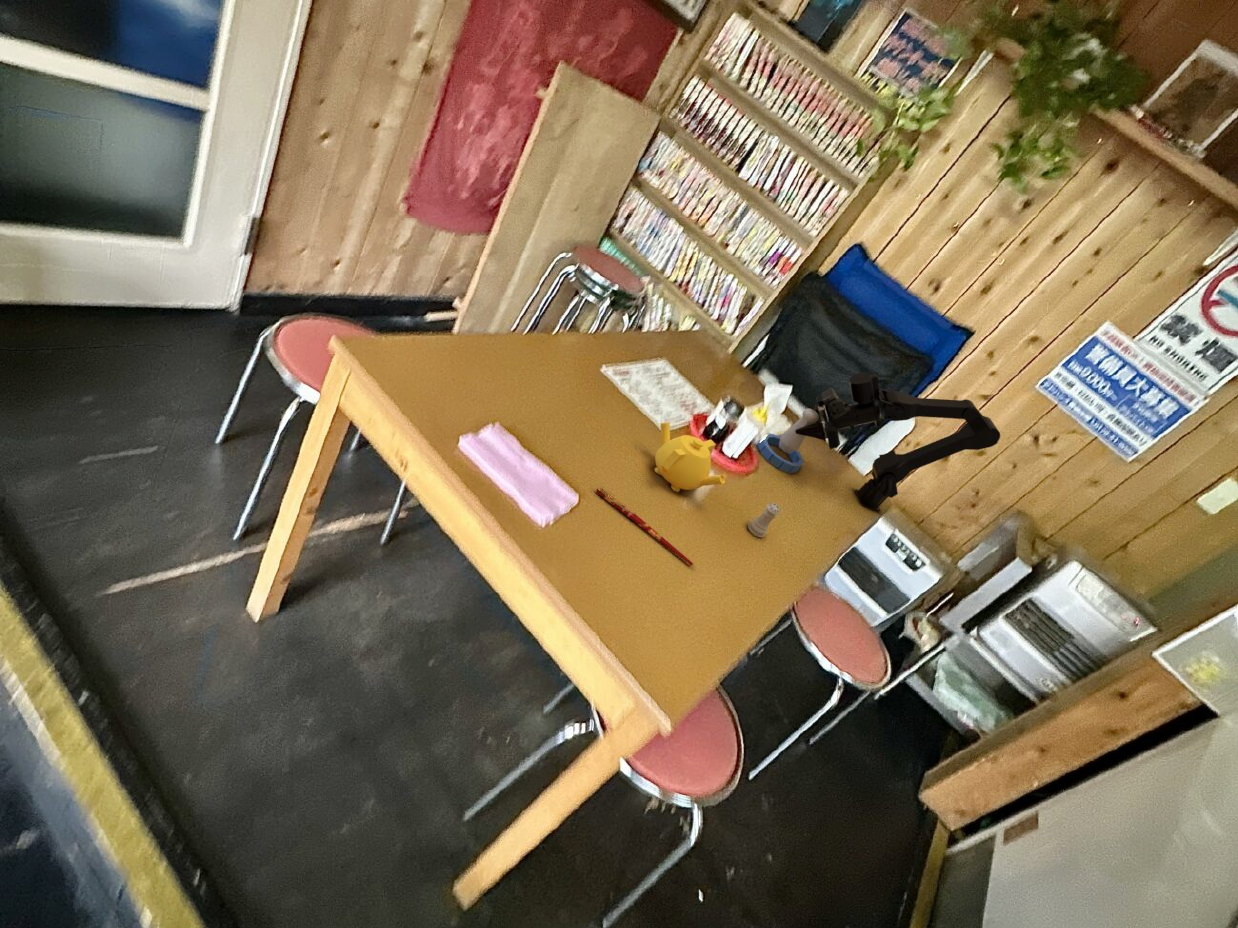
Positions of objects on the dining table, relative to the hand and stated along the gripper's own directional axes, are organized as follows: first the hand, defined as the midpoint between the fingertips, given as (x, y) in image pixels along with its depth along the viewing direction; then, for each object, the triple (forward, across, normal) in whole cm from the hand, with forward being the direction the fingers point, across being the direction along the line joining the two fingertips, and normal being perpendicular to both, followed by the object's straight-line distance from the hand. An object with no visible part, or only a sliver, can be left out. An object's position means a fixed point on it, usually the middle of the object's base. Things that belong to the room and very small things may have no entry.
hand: (794, 428), depth 197 cm
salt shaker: (+4, 0, +6) cm, 7 cm away
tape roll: (+6, 0, +8) cm, 10 cm away
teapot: (+28, +34, -15) cm, 47 cm away
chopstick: (+32, +56, -20) cm, 68 cm away
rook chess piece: (+13, +39, 0) cm, 42 cm away
